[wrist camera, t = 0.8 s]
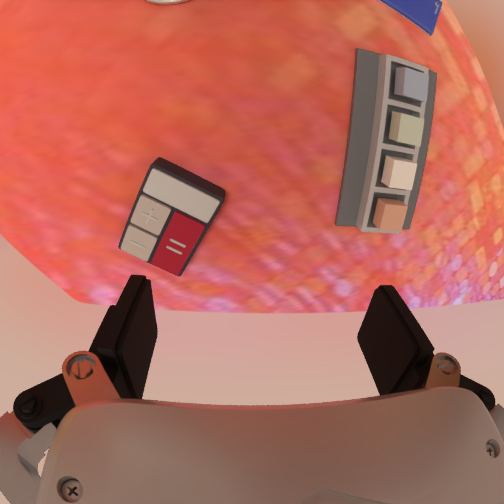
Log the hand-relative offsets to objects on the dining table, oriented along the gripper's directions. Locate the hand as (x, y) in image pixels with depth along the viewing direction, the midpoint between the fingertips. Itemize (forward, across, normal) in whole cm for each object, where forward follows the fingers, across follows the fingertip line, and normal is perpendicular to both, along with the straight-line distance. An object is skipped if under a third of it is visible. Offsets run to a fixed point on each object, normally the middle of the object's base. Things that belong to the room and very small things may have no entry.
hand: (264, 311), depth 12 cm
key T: (+28, -21, -15) cm, 38 cm away
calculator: (+32, +10, +9) cm, 35 cm away
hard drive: (+32, -21, -31) cm, 49 cm away
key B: (+29, -22, +5) cm, 36 cm away
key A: (+28, -21, -8) cm, 36 cm away
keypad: (+32, -21, -5) cm, 38 cm away
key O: (+29, -21, -2) cm, 36 cm away
